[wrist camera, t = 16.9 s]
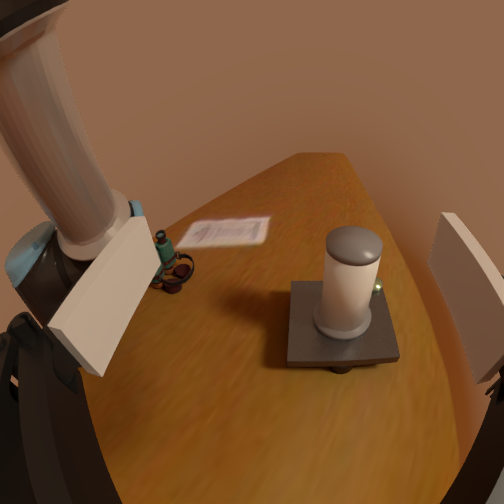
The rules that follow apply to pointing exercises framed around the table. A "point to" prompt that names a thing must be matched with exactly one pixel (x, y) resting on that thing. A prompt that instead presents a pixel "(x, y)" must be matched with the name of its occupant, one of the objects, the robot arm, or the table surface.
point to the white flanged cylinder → (347, 282)
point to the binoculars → (170, 265)
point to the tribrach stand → (337, 351)
